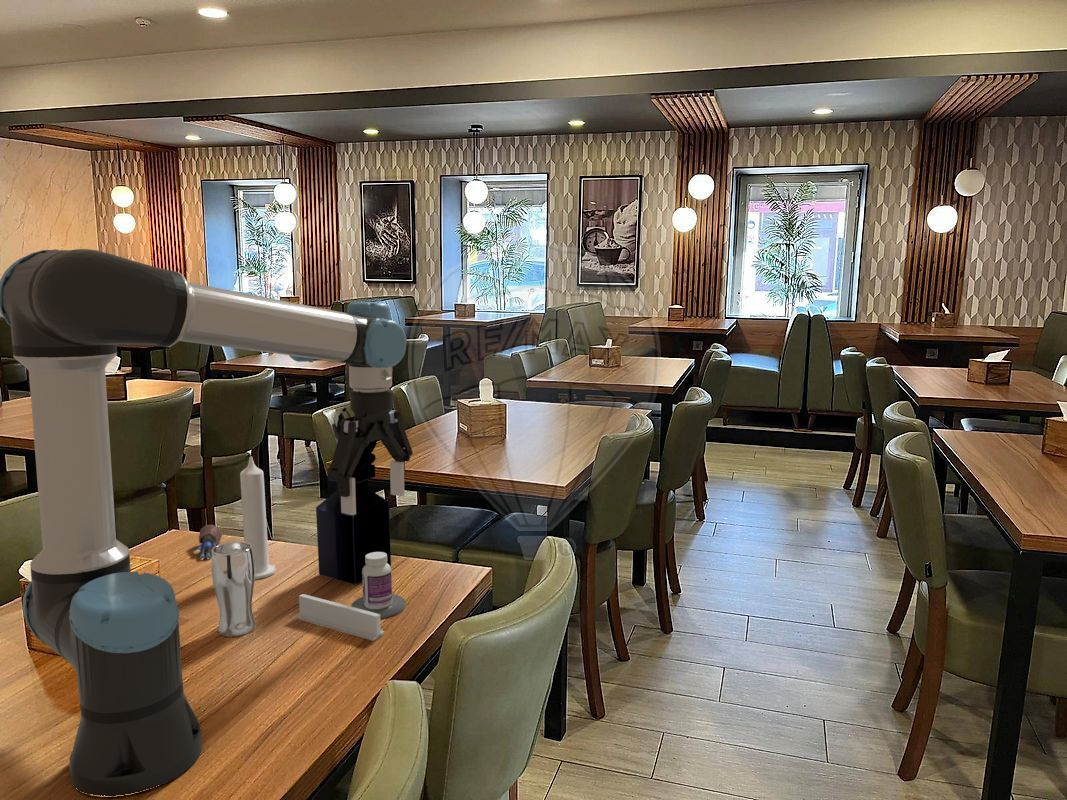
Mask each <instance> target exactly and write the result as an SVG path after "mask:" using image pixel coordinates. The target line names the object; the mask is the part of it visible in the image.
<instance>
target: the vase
mask: <svg viewBox="0 0 1067 800" xmlns="http://www.w3.org/2000/svg"><path fill="white" fill-rule="evenodd" d="M342 412H343V413H345V412H346V414H347V417H346V418H345V416H344V414H343V413H342ZM342 412H340V413H339V415H338V416H337V423H336V422H334V423H332V424H331V428H332V430H333V431H332V432H333V435H334V437H335V439H336V440H337V441H338V439H339V436H340V429H341V421H342V420H346V421H353V420H354V416H355V415H353V416H351V414H350V413H349V412H348V410H347V407H343V409H342ZM359 438H360V437H359ZM377 442H378V439H377V440H375V441H373V442H370V443H369V445H368V446H366V447H365V449H364V451H363V453H362V455H361V457H360V459H359V461H358V464H357V466H356V468H355V470H354V472H353V474H352V476H351V477H353V478H355V494H356V514H355V515H350V514H345V513H341V496H340V495H339V480H338V478H337V477H334V476H330V475H329V470H330V466H331V464H329V467H327V471H326V472H327V481H331V482H335V484H336V485H335V486H336V488H335V489H336V490H335V491H334V492H333V493H332V494H330V495H329V496H328V497H326V499H325V500H323V501H321V503H319V504H318V505H317V506H316V507H315V512H316V514H315V517H316V536H317V537H316V538H317V552H318V553H317V555H318V556H317V559H318V575H319V576H321V577H326V578H329V579H333V580H336V581H339V582H343V583H347V584H350V585H354V586H355V585H356V586H357V585H358V584H360V583H363V579H362V570H363V568H364V566H365V565H366V563H365V556H366V555H367V554H369V553H372V552H384V553H386V554H387V564H389V565H390V567H391V568H392V556H391V553H392V552H391V551H392V550H391V524H390V523H391V522H390V519H391V518H390V502H389V501H388V500H387V499H385V498H384V497H382V496H381V495H379V494H378V493H376V492H375V491H373V490H372V489H370V488H369V480H370V479H374V478H376V465H375V464H373V463H374V462H375V461H376V458H377V456H376V455H375V454H374V453H373V452H374V450H375V448H376V446H377ZM337 470H338V469H337ZM345 471H347V470H345Z"/></svg>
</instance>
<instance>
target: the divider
mask: <svg viewBox="0 0 1067 800" xmlns="http://www.w3.org/2000/svg"><path fill="white" fill-rule="evenodd" d="M298 601H299V603H298V605H299V606H298V607H299V614H297V615H295V620H299V621H303V622H307V623H310V624H313V625H317V626H321V627H324V628H327V629H330V630H332V631H333V630H334V631H337V632H340V633H345V634H348V635H351V636H355V637H358V638H362V639H365V640H368V641H373V642H375V641H376V640H377V639H379V638H381V637H382V636H384V635H385V633H386V632H385V630H383V629H382V628H381V627H382V626H381V624H382V623H381V622H382V621H381V619H380V614H377V613H373V612H369V611H365V610H362V609H358V608H354V607H351V606H350V605H346V604H342V603H339V602H335V601H331V600H327V599H324V598H320V597H316V596H314V595H313V596H312V595H309V594H305V593H302V594H300V595H298Z"/></svg>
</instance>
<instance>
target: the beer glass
mask: <svg viewBox="0 0 1067 800" xmlns="http://www.w3.org/2000/svg"><path fill="white" fill-rule="evenodd" d="M210 559H211V567H210V568H211V580H212V586H213V590H214V592H215V593H214V594H215V597H216V601H217V604H218V610H219V621H218V622H219V623H218V634H219V635H220V636H223V637H227V638H230V637H231V638H235V637H241V636H244V635H247V634H249V633H252V632H253V631H254V630H255V628H256V621H255V617H254V614H253V606H252V605H253V604H252V603H253V594H254V587H255V579H254V578H255V567H254V558H253V552H252V545H251V544H250V543H248V542H244V541H241V540H240V541H236V540H235V541H228V542H223V543H219V544H218V545H217V544H216V546H215V547H212V548H211V558H210Z"/></svg>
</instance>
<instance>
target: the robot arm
mask: <svg viewBox="0 0 1067 800" xmlns="http://www.w3.org/2000/svg"><path fill="white" fill-rule="evenodd" d="M0 314H1V315H2V318H4V320H5V322H6V323H7V325H9V327H10V333H11V334H10V335H11V343H12V344H11V346H12V354H13V355H12V356H13V359H14V360H16V361H17V362H19V363H20V364H22V366H24V367H25V368H26V370H27V371H28V379H29V391H30V403H31V404H30V405H31V418H32V426H33V427H32V428H33V429H32V430H33V439H34V440H33V442H34V453H35V467H36V481H37V493H38V506H39V518H40V530H41V543H42V545H41V546H42V549H41V551H39V553H38V554H37V555H36V556H35V557H33V559H32V560H31V561H30V576H31V579H30V580H31V581H30V582H29V583H28V584H27V586H26V589H25V592H24V595H23V599H22V610H23V617H24V619H25V622H26V623H27V626H28V628H29V630H30V631H31V633H33V634H34V636H35V637H36V638H37V639H38V640H39V641H40V642H41V643H42V644H43V645H46V646H48V647H49V648H50V649H51V650H53V651H54V652H55V653H56V654H58V655H59V656H60V657H62V659H64V660H65V661H66V662H67V663H68V664H70V665H71V666H72V667H73V668H74V669H75V674H76V679H77V680H76V681H77V688H78V689H77V690H78V698H79V707H80V720H79V722H78V723H79V724H78V727H77V730H76V734H75V740H74V743H73V747H72V751H71V753H70V757H69V764H68V765H69V776H70V783H71V782H72V783H71V785H72V784H73V785H74V786H75V788H77V789H78V790H79V791H81V792H84V793H87V794H93V795H100V796H101V795H102V796H104V795H105V796H116V795H125V794H131V793H135V792H140V791H143V790H146V789H150V788H153V787H156V786H158V785H161V784H163V783H165V784H167V783H169V782H171V781H173V780H175V779H176V778H178V777H179V776H181V775H182V774H183V773H185V772H186V771H187V770H189V769H190V768H191V767H192V766H193V765H194V764H195V763H196V761H197V760H198V759H199V757H200V755H201V753H202V751H203V736H202V728H201V724H200V723H199V721H198V719H197V717H196V713H194V710H193V708H192V706H191V704H190V702H189V700H188V699H187V696H186V694H185V692H184V691H185V690H184V681H183V670H182V669H183V667H182V665H183V664H182V654H181V653H182V652H181V638H180V636H181V635H180V623H179V619H180V611H179V610H180V609H179V606H178V602H177V600H176V594H175V590H174V587H173V585H172V584H170V582H169V581H168V580H166V579H165V578H163V577H162V576H158V575H156V574H153V573H148V572H144V573H140V574H139V572H138V571H131V558H130V557H131V556H130V549H129V547H128V546H126V545H125V544H124V543H122V542H121V541H120V540H118V539H117V536H116V535H117V534H116V520H115V503H114V487H113V472H112V456H111V455H112V454H111V440H110V427H109V424H110V423H109V411H108V396H107V395H108V394H107V391H108V390H107V378H106V375H107V374H106V368H107V366H108V364H109V363H111V362H112V360H114V359H115V357H117V355H118V347H117V345H128V346H129V345H132V346H133V345H135V346H136V345H137V346H138V345H141V346H142V345H143V346H153V347H154V346H155V347H163V348H170V347H173V346H174V345H175V344H177V343H178V342H185V343H194V344H201V345H208V346H214V347H215V346H216V347H223V348H230V349H231V348H232V349H239V350H247V351H255V352H262V353H269V354H277V355H284V356H289V358H290V359H292V360H293V361H295V362H297V363H301V362H303V363H305V362H309V363H313V362H317V361H318V362H322V361H324V362H332V363H333V362H334V363H341V364H348V369H349V370H348V374H349V375H348V376H349V378H348V381H349V383H348V384H349V386H348V387H350V389H351V390H350V392H349V408H350V411H351V412H353V414H354V415H353V416H354V420H353V421H346V420H342V421H341V429H340V436H339V439H338V440H337V443H336V447H335V451H334V454H333V457H332V461H331V462H330V465H331V466H330V465H329V467H330V470H329V475H330V476H334V477H337V478H338V480H339V495H340V496H341V513H345V514H350V515H355V514H356V494H355V478H353V477H351V476H352V474H353V472H354V470H355V468H356V466H357V464H358V461H359V459H360V457H361V455H362V453H363V451H364V449H365V447H366V446H368V445H369V443H370V442H373V441H375V440H377V439H378V440H380V442H381V443H382V444H383V446H384V447H385V448H384V449H386V450H387V452H388V453H389V455H390V456H391V457H392V459H393V460H390V461H389V467H390V468H389V471H390V472H389V473H390V474H389V476H390V477H389V479H390V483H389V484H390V495H392V496H399V497H404V496H405V476H406V462H409V461H410V459H411V456H413V454H414V453H413V449H412V447H411V444H410V440H409V438H408V435H407V433H406V429H405V427H404V424H403V420H402V412H401V411H400V410H394V409H393V408H394V398H393V396H394V395H393V394H394V392H393V390H392V389H391V387H392V386H393V369H392V367H394V366H396V365H398V364H399V363H400V362H401V361H402V360H403V358H404V356H405V354H406V349H407V341H408V340H407V336H406V333H405V330H404V328H403V327H402V325H400V324H399V323H398V322H396V321H394V320H392V314H391V308H390V306H389V304H387V303H386V302H381V301H380V302H376V301H357V302H353V301H352V302H349V303H348V305H347V307H346V312H343V311H338V310H332V309H327V308H322V307H316V306H311V305H306V304H302V303H296V302H293V301H292V302H290V301H287V300H280V299H276V298H271V297H266V296H260V295H256V294H251V293H244V292H240V291H234V290H231V289H225V288H220V287H215V286H209V285H205V284H201V283H200V284H199V283H193V282H188V280H187V279H186V278H185V276H184V275H183V274H182V273H181V272H179V271H175V270H171V269H165V268H161V267H156V266H154V265H149V264H146V263H144V262H143V263H142V262H138V261H135V260H131V259H128V258H125V257H122V256H118V255H115V254H112V253H108V252H105V251H101V250H96V249H88V248H80V249H75V248H74V249H56V248H55V249H41V250H39V251H36V252H32V253H29V254H28V255H25V256H22V257H20V258H19V259H16V260H15V261H14V262H13V263H12V264H10V266H9V267H7V269H6V270H4V272H3V274H2V276H1V278H0ZM359 437H360V438H359ZM378 440H377V441H378ZM337 469H338V470H337ZM345 470H347V471H345ZM175 777H176V778H175ZM174 778H175V779H174ZM172 779H173V780H172ZM170 780H171V781H170ZM168 781H169V782H168ZM166 782H167V783H166ZM73 785H72V786H73ZM163 785H164V784H163ZM74 786H73V787H74ZM161 786H162V785H161ZM75 788H74V789H75ZM156 788H157V787H156ZM78 790H77V791H78ZM79 791H78V792H79ZM81 792H80V793H81Z"/></svg>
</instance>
